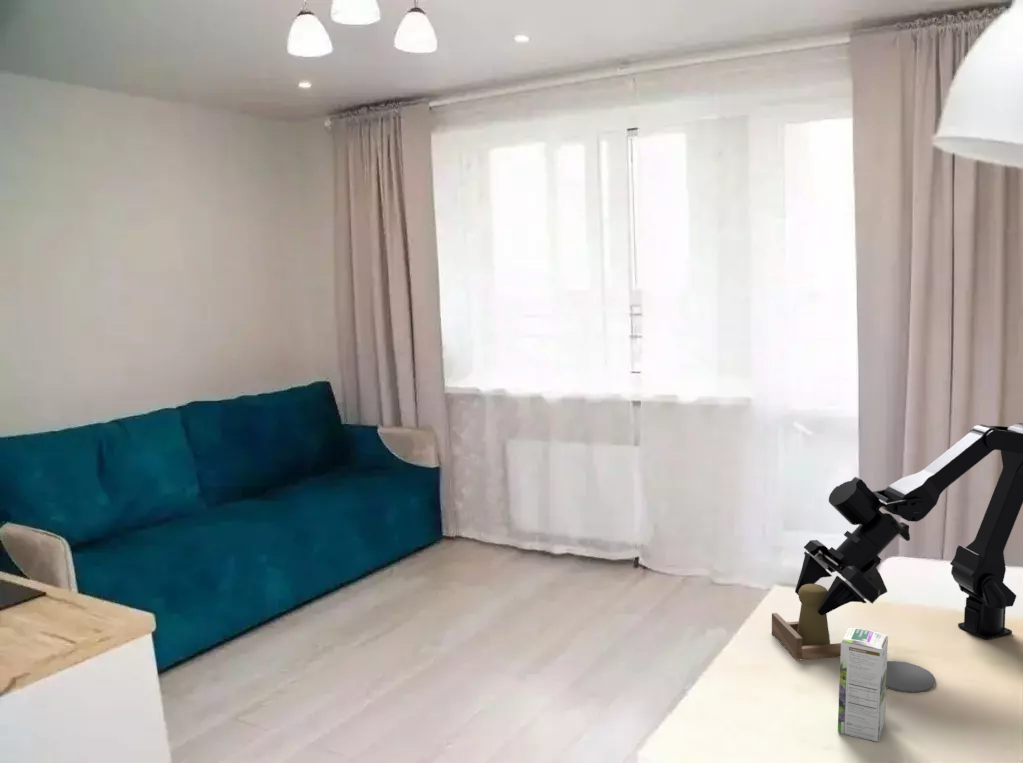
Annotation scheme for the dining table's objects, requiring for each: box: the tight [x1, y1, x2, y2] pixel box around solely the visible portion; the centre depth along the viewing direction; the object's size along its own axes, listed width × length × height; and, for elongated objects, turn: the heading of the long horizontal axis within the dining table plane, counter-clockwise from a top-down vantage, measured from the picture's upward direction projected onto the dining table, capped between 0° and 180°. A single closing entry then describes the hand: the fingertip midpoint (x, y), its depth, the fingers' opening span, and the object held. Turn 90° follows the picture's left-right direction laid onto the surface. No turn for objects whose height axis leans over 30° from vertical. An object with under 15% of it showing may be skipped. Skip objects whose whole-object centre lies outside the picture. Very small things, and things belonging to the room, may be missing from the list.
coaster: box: [886, 660, 936, 693], centre depth 143 cm, size 10×10×1 cm
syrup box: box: [837, 627, 889, 742], centre depth 127 cm, size 6×6×14 cm
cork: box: [797, 583, 831, 646], centre depth 156 cm, size 6×6×11 cm
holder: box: [771, 612, 841, 661], centre depth 156 cm, size 10×11×4 cm
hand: (807, 603), depth 155 cm, fingers open, 9 cm apart
